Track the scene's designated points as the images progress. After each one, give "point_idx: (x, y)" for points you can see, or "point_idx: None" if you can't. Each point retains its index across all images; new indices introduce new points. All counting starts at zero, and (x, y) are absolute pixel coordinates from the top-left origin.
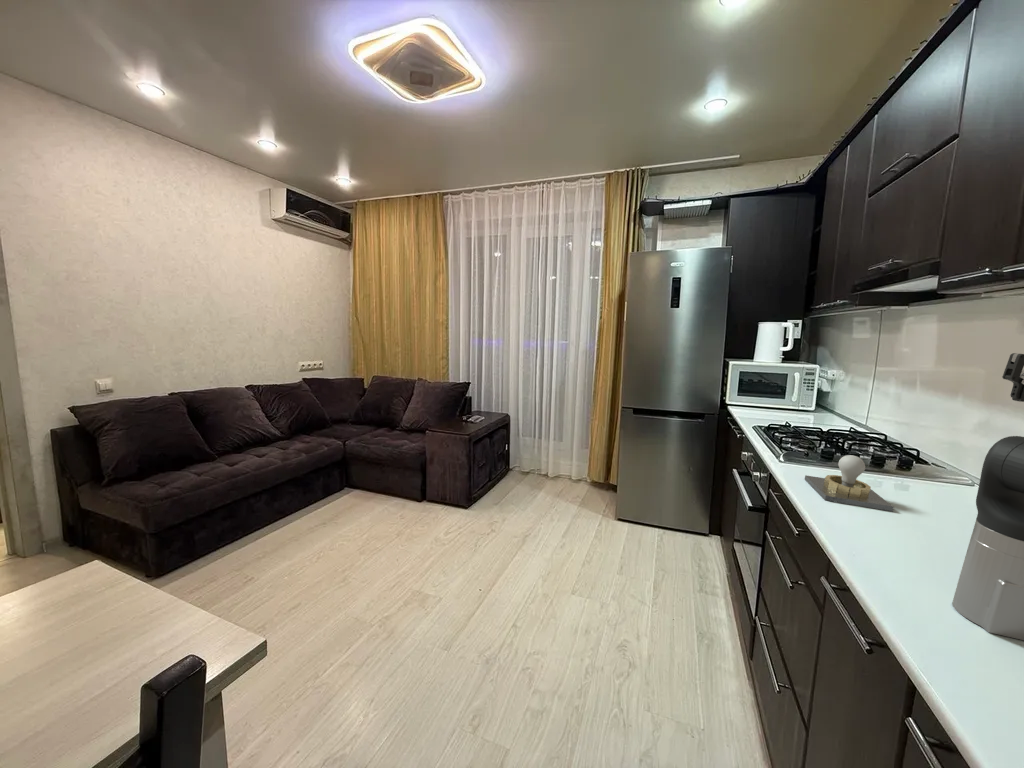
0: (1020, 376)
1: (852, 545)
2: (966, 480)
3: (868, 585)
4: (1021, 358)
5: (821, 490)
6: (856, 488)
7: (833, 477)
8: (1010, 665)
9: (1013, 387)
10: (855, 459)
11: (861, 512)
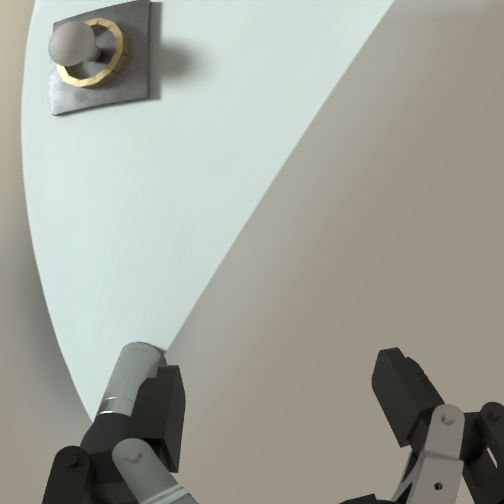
0: (140, 488)
1: (58, 271)
2: None
3: (66, 346)
4: None
5: (51, 91)
6: (89, 81)
7: None
8: None
9: (130, 427)
10: (59, 53)
11: (94, 135)
